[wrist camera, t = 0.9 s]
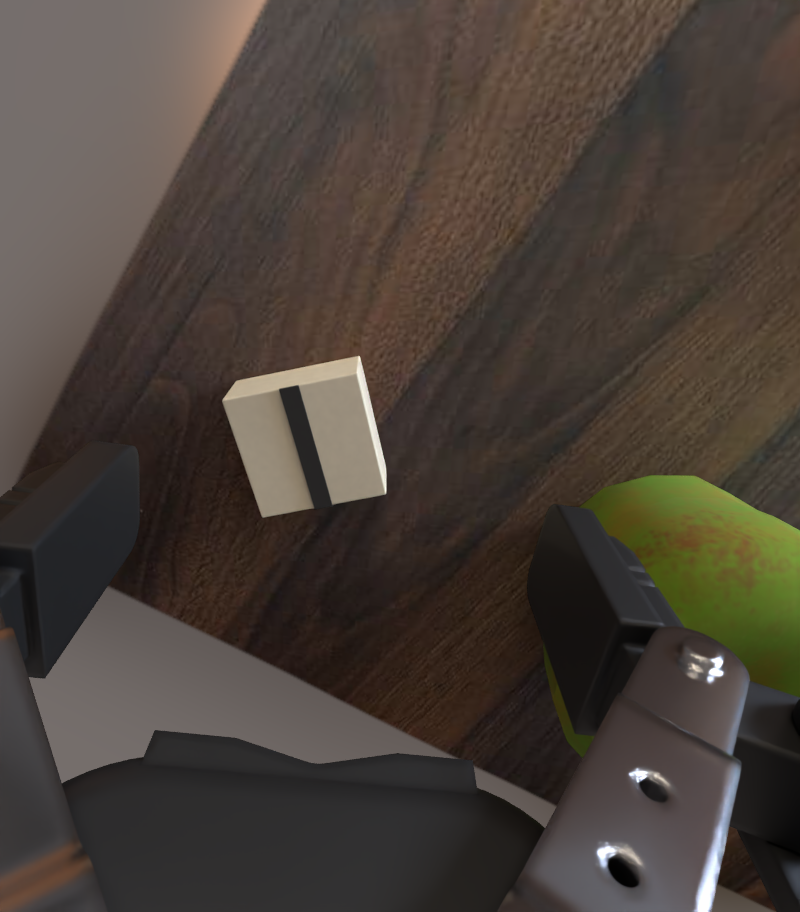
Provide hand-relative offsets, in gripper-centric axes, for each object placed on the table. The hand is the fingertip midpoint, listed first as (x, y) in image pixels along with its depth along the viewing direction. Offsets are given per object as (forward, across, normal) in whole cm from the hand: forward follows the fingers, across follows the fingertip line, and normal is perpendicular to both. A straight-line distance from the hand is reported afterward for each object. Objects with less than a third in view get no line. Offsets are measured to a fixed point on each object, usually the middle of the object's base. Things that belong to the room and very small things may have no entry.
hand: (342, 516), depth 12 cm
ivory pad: (+15, +2, +4) cm, 16 cm away
